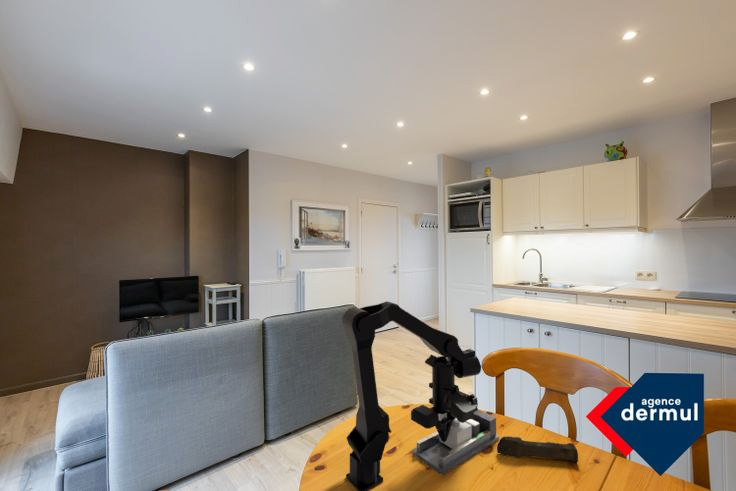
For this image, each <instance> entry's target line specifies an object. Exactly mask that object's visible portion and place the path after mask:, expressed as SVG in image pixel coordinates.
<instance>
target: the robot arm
mask: <svg viewBox="0 0 736 491" xmlns="http://www.w3.org/2000/svg"><path fill="white" fill-rule="evenodd" d="M341 320H342V325H343V329H344V332H345V336H346V338H347V340H348V342H349V344H350V346H351V350H352V357H353V365H354V373H355V374H354V375H355V381H356V389H357V390H356V391H357V398H358V409H357V411H356V415H355V426H354V427H353V428H352V430H351V431H350V432H349V434H348V435H347V436H346V440H347V444H348V446H349V447H350V449H352V451H351V452H350V453H349V473H346V474H345V478H346V479H347V480H348V481H349V483H350V484H352V485H353V487H354V488H355V489H357V491H369V490H370V489H372V488H373V487H375V486H378V485H380V484H381V483H383V482H384V477H383V476H382V475H380V473H381V460H383V459H382V458H383V454H384V451H385V448H386V445H387V443H388V442H389V440H390V434H391V433H392V430H391V428H390V416H389V414H388V413H387V412H386V411H385V410H384V409H383V408H382V407H381V406H380V405H379V397H378V390H377V388H378V387H377V381H376V375H375V374H376V372H375V366H374V365H375V364H374V357H373V349H372V348H373V344H374V340H375V338H376V330H379V329H382V328H383V327H385V326H387V325H388V324H389V323H390V322H393V323H394V324H396V325H398V326H400V327H401V328H402V329H404V330H406V331H408V333H411V334H412V335H414V336H416V337H417V338H419V339H420V340H421V341H422V343H424V345H425V346H426V347H427V348H428V349H430V350H431V351H432V352H434V353H437V354H438V355H441V356H435V355H433V354H430V356H429V357H427V358H426V359H425V360H424V364H426V365H427V366H429V367H431V372H432V373H431V375H432V376H431V377H432V379H431V380H432V381H431V382H429V383H428V388H430V389H431V390H432V391H431V392H432V396H431V397H430V398H429V399H428V403H429V404H430V405H432V407H428V406H426V405H424V404H421V405H419V406H417V407H414V408H412V410H411V411H410V420H411V421H413V422H415V423H416V424H418V425H420V426H421V427H423V428H424V429H432V428H434V427H435V429H436V432H438V434H439V436H440V438H441V440H442V441H443V442H445V441H447V437H448V434H449V431H450V428H451V425H452V423H453V421H454V420H455V419H456V418H457V420H458V421H459V422H461V423H464V422H466V421H467V420H469V419H472V417H473V414H474V412H476V411H478V410H479V408H478V405H479V403H478V397H477V396H476V395H475V394H473V393H471V394H467V393H465V392H463V391H461V390H460V388H459V385H457V384H456V383H455V381H456V380H455V379H456V378H457V379H463V378H468V377H472V376H473V377H474V376H478V375H480V373H481V371H482V365H481V362H480V360H479V358H478V356H477V355H476V351H475V350H474V349H472V348H468V349H465V350H463V349H462V348H461V346H460V345H459V340H458V338H457V337H456V336H455V335H452V334H451V333H448V332H446V331H441V330H439V329H437V328H434V327H432V326H430V325H429V324H427V323H426V322H424V321H422V320H420V319H419V318H417V317H416V316H415V315H413V314H411V313H409V312H408V311H406V309H403V308H402V307H400V305H399V304H396V303H394V302H391V301H384V302H381V303H378V304H377V303H376V304H372V305H368V306H363V307H360V308H359V307H350V308H348V309H347V310H346V311H345V312H344V314H343V315H342V319H341ZM455 377H456V378H455Z"/></svg>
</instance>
